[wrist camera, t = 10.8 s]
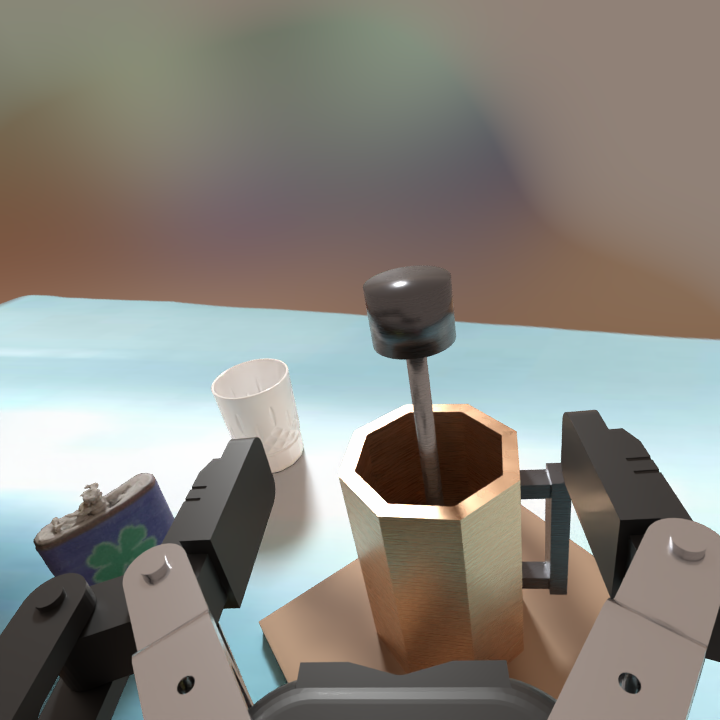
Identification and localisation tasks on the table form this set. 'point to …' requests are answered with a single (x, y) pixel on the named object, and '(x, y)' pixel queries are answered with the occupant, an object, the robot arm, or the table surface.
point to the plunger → (415, 344)
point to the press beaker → (450, 536)
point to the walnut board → (364, 647)
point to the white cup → (261, 408)
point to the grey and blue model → (106, 530)
